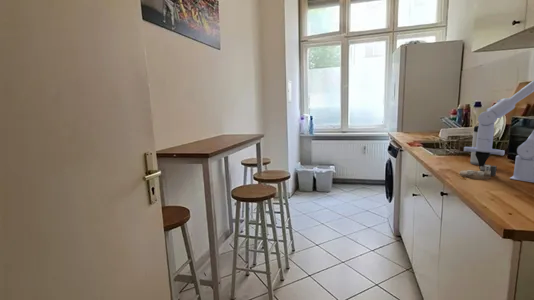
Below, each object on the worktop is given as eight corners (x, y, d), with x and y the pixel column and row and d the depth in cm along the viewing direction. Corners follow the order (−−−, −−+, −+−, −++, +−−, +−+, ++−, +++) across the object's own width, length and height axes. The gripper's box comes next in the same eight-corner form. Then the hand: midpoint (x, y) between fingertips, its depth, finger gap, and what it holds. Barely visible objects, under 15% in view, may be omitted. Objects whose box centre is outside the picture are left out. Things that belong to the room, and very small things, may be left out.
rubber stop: (495, 174, 126) (496, 166, 125) (493, 175, 125) (495, 167, 124) (491, 174, 127) (492, 165, 127) (490, 175, 126) (491, 166, 125)
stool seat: (493, 176, 124) (494, 169, 124) (485, 180, 118) (486, 173, 117) (464, 171, 133) (465, 165, 132) (455, 175, 126) (456, 168, 126)
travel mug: (488, 165, 144) (493, 125, 141) (473, 165, 146) (478, 125, 142) (481, 162, 150) (486, 124, 147) (467, 162, 152) (471, 124, 148)
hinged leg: (485, 173, 123) (486, 167, 123) (479, 172, 125) (479, 166, 125) (490, 170, 128) (491, 164, 127) (484, 169, 129) (485, 164, 129)
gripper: (507, 139, 124) (503, 170, 126) (468, 136, 135) (465, 164, 137) (504, 141, 119) (500, 172, 122) (463, 138, 130) (460, 167, 132)
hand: (481, 168), depth 129 cm, fingers closed
